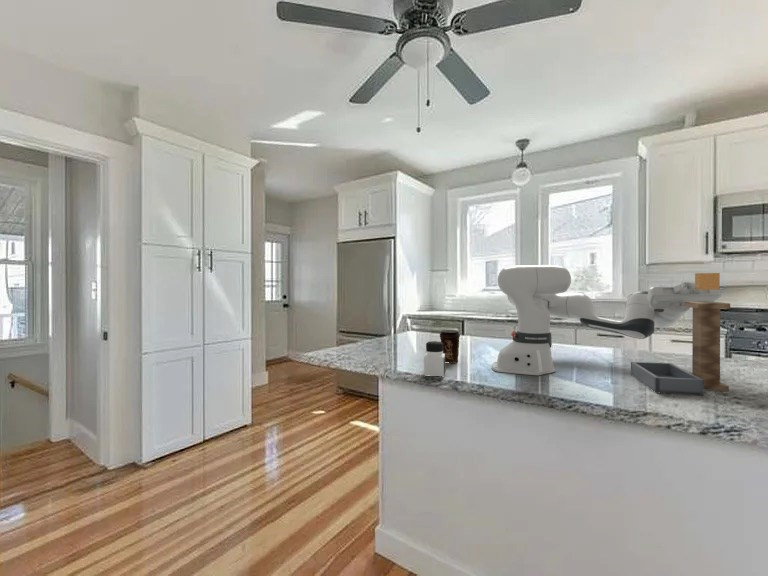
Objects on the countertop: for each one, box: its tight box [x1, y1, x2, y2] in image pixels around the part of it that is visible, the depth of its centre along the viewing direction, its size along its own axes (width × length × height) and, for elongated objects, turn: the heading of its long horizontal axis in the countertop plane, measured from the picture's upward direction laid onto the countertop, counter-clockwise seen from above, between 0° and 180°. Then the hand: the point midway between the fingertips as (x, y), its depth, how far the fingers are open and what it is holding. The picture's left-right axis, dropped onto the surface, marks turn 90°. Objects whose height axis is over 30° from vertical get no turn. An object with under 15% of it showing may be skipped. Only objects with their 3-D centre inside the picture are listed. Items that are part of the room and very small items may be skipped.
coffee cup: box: [439, 329, 461, 364], centre depth 161 cm, size 9×8×13 cm
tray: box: [630, 361, 705, 397], centre depth 124 cm, size 12×22×4 cm, turn 164°
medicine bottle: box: [423, 340, 446, 377], centre depth 141 cm, size 7×7×12 cm
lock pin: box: [686, 272, 721, 291], centre depth 125 cm, size 5×15×5 cm, turn 164°
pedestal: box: [684, 301, 731, 392], centre depth 120 cm, size 8×9×26 cm
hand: (691, 284), depth 129 cm, fingers closed on lock pin
